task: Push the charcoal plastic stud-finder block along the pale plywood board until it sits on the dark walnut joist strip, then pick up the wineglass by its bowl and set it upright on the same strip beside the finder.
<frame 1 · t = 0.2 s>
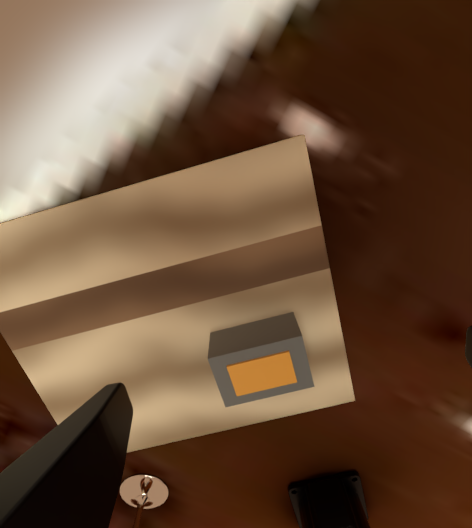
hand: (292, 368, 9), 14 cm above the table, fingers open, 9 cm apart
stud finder: (258, 345, 24), point 1 cm above the table, touching subfloor board
wineglass: (144, 489, 30), on the table
subfloor board: (174, 322, 24), on the table
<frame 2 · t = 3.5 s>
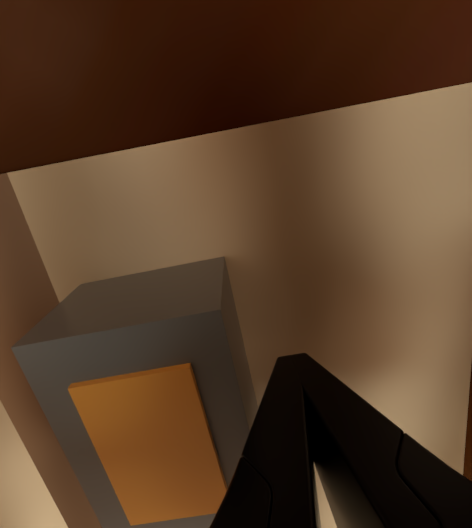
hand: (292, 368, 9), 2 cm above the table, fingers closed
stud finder: (179, 361, 10), point 1 cm above the table, touching gripper, subfloor board
subfloor board: (183, 467, 13), on the table
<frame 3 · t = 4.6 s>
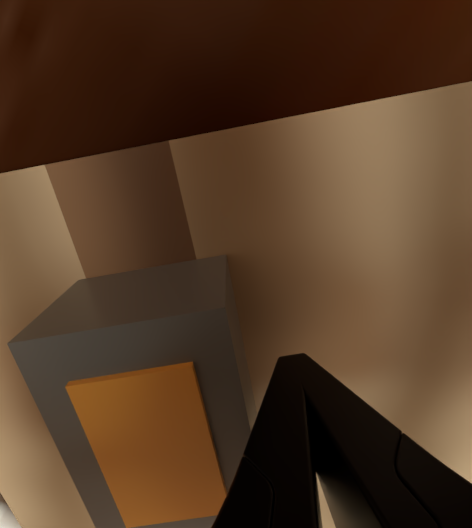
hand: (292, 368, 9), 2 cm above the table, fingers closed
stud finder: (177, 361, 10), point 1 cm above the table, touching gripper, subfloor board
subfloor board: (287, 454, 12), on the table
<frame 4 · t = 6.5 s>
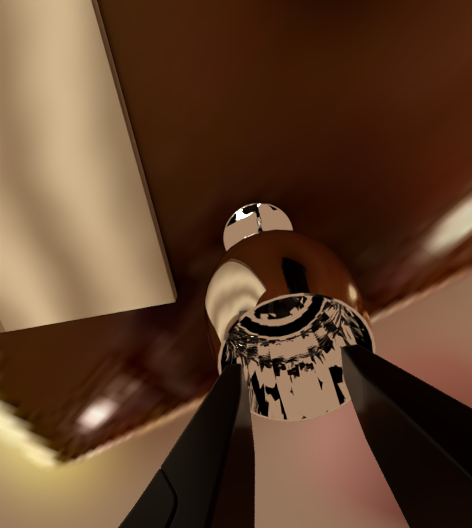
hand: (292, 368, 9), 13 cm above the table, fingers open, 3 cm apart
wineglass: (258, 236, 21), on the table
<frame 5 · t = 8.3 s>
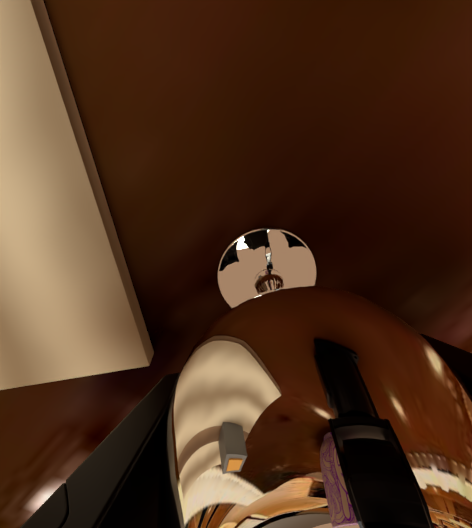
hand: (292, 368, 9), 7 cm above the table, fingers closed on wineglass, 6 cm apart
wineglass: (266, 274, 15), on the table, touching gripper
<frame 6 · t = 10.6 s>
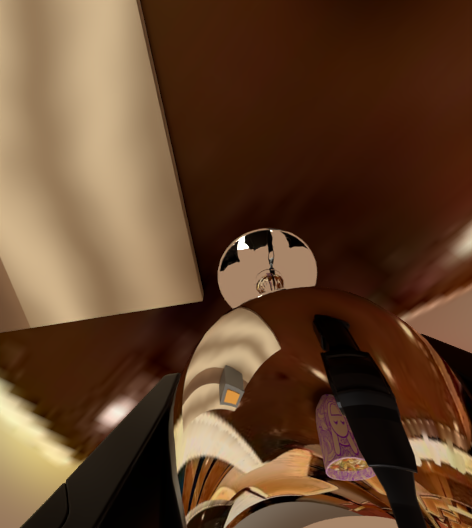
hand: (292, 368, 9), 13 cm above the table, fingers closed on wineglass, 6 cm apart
wineglass: (266, 274, 15), point 6 cm above the table, touching gripper
when the fingers open (9 cm above the table, at t = 13.0 s): wineglass drops 1 cm, resting on subfloor board.
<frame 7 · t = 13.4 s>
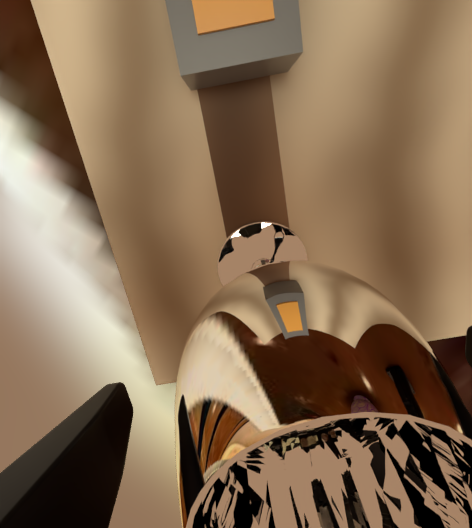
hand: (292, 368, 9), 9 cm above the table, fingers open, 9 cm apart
wineglass: (262, 264, 16), point 1 cm above the table, touching subfloor board
subfloor board: (307, 134, 15), on the table
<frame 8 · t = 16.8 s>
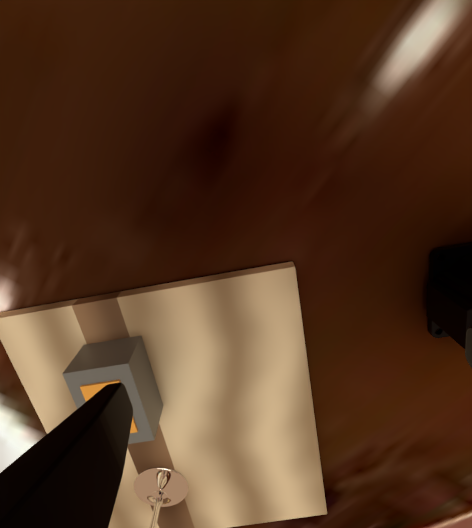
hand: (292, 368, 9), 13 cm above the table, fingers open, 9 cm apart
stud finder: (125, 376, 23), point 1 cm above the table, touching subfloor board
wineglass: (161, 484, 27), point 1 cm above the table, touching subfloor board
subfloor board: (183, 419, 26), on the table
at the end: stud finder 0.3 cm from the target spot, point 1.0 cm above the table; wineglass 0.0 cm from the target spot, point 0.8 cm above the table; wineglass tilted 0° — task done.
